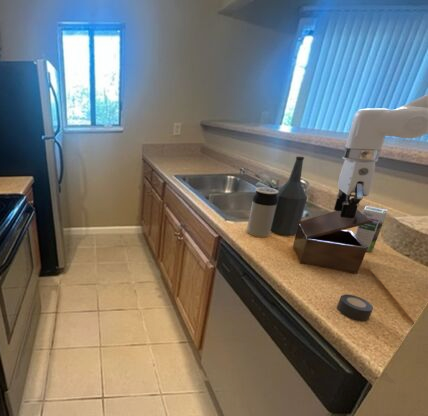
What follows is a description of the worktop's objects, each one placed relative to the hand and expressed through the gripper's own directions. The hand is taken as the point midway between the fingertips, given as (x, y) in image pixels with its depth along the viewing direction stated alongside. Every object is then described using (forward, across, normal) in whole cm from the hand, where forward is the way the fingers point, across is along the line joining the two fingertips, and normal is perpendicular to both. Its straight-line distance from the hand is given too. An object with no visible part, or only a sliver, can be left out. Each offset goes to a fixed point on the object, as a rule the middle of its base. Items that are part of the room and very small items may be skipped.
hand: (343, 213), depth 84 cm
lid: (+4, 0, +2) cm, 4 cm away
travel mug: (+16, +13, +20) cm, 29 cm away
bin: (+16, 0, +2) cm, 17 cm away
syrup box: (+17, +15, -13) cm, 26 cm away
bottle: (+16, +19, +11) cm, 27 cm away
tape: (+17, -27, +2) cm, 32 cm away
